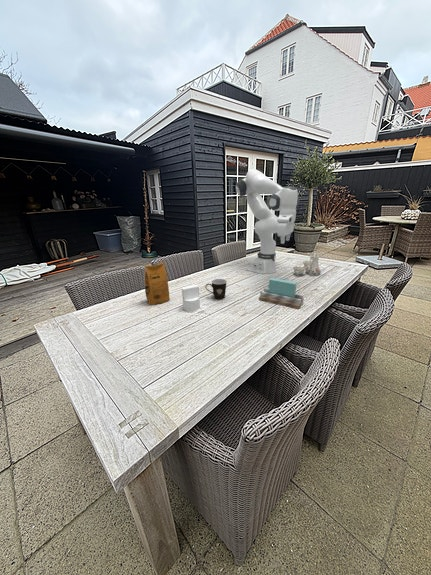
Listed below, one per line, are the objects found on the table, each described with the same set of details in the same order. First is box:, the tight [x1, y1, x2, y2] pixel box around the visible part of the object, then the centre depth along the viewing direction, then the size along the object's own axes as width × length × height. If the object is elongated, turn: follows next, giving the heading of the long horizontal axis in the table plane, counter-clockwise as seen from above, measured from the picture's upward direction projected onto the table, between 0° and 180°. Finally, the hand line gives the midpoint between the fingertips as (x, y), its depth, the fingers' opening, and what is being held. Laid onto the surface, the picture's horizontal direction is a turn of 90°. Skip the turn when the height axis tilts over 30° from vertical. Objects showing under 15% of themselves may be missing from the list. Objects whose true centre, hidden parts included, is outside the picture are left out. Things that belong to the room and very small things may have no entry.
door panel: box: [268, 277, 298, 298], centre depth 124 cm, size 14×3×10 cm, turn 58°
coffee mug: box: [204, 278, 228, 301], centre depth 132 cm, size 12×9×10 cm
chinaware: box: [293, 252, 321, 277], centre depth 166 cm, size 28×17×17 cm, turn 142°
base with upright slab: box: [181, 284, 201, 312], centre depth 120 cm, size 9×9×12 cm
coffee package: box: [144, 262, 171, 306], centre depth 127 cm, size 10×12×22 cm
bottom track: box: [258, 287, 305, 310], centre depth 126 cm, size 22×10×4 cm, turn 58°
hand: (285, 242), depth 133 cm, fingers open, 8 cm apart
